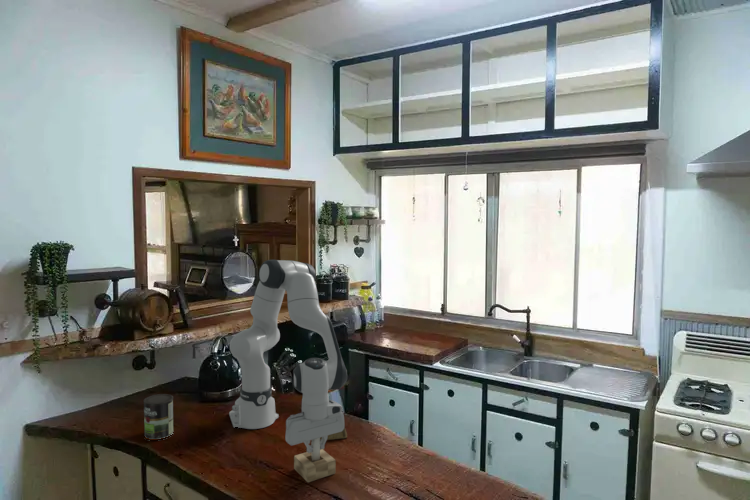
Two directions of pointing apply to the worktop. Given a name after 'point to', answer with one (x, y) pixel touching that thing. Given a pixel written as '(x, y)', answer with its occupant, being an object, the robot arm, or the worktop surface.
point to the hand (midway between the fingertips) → (315, 450)
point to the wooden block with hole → (314, 466)
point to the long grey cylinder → (315, 449)
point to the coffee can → (158, 416)
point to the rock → (337, 435)
